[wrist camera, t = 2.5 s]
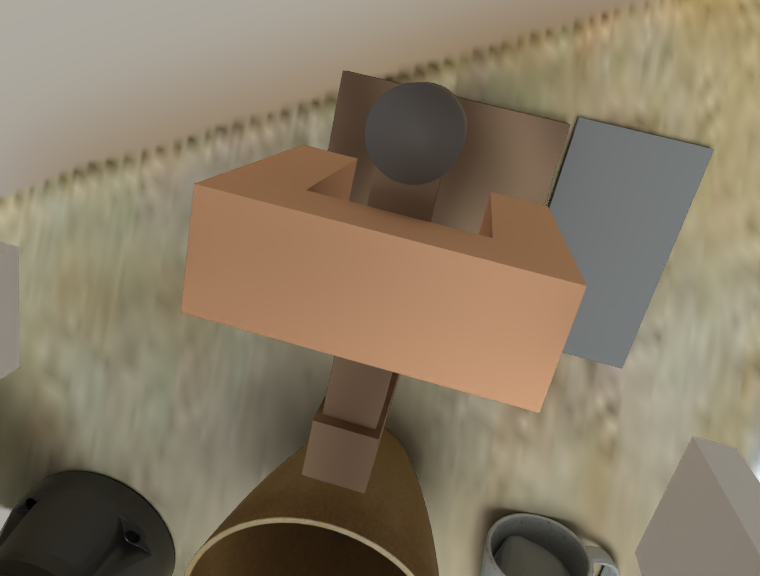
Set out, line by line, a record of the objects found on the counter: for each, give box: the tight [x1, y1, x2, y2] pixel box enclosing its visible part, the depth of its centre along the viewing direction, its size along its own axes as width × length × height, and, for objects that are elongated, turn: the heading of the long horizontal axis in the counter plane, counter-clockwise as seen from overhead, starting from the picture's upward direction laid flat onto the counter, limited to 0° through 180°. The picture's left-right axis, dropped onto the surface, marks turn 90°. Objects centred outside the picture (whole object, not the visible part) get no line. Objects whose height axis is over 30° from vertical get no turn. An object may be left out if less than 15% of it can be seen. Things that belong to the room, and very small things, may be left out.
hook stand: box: [302, 71, 570, 494], centre depth 29 cm, size 14×15×22 cm
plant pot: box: [184, 429, 439, 576], centre depth 39 cm, size 15×15×16 cm
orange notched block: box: [181, 145, 587, 413], centre depth 22 cm, size 11×4×10 cm, turn 78°
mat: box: [548, 117, 714, 368], centre depth 38 cm, size 8×15×1 cm, turn 168°
